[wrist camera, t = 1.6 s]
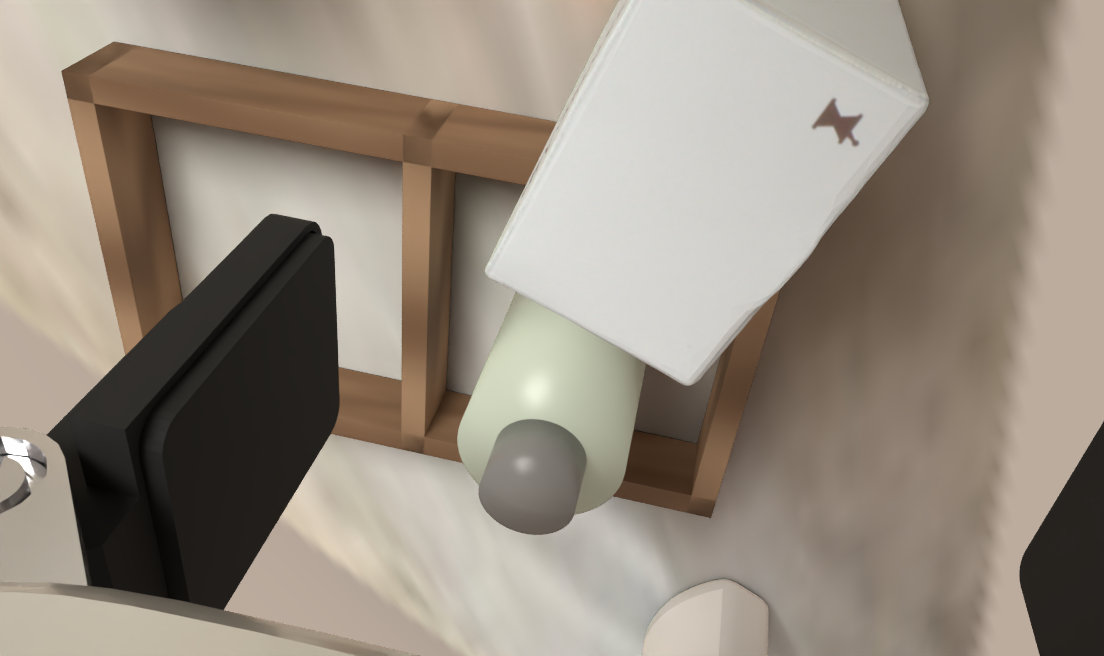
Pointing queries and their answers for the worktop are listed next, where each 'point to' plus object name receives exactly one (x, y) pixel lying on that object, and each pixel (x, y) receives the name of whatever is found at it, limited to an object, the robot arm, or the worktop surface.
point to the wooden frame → (427, 235)
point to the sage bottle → (549, 420)
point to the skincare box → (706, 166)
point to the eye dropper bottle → (710, 623)
